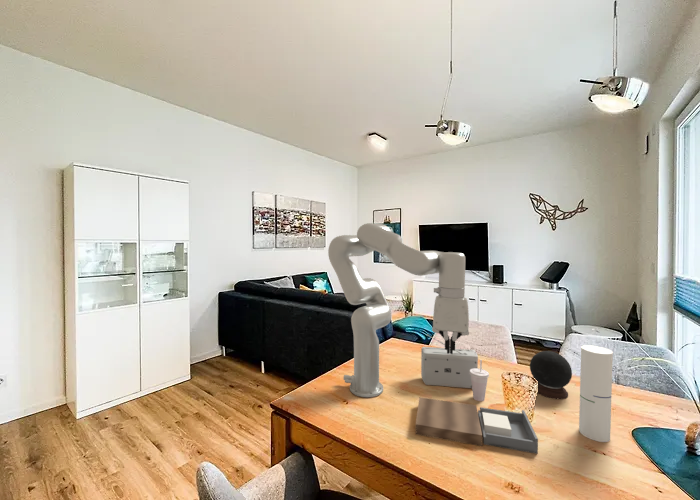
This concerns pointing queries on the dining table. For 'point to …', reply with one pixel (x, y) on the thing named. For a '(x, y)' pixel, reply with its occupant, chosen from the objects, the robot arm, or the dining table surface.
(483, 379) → the smoothie
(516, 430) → the tray
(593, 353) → the cylindrical container
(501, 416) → the tile
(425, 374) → the stereo radio cassette player
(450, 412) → the board
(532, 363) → the round black desktop speaker
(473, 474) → the dining table surface
